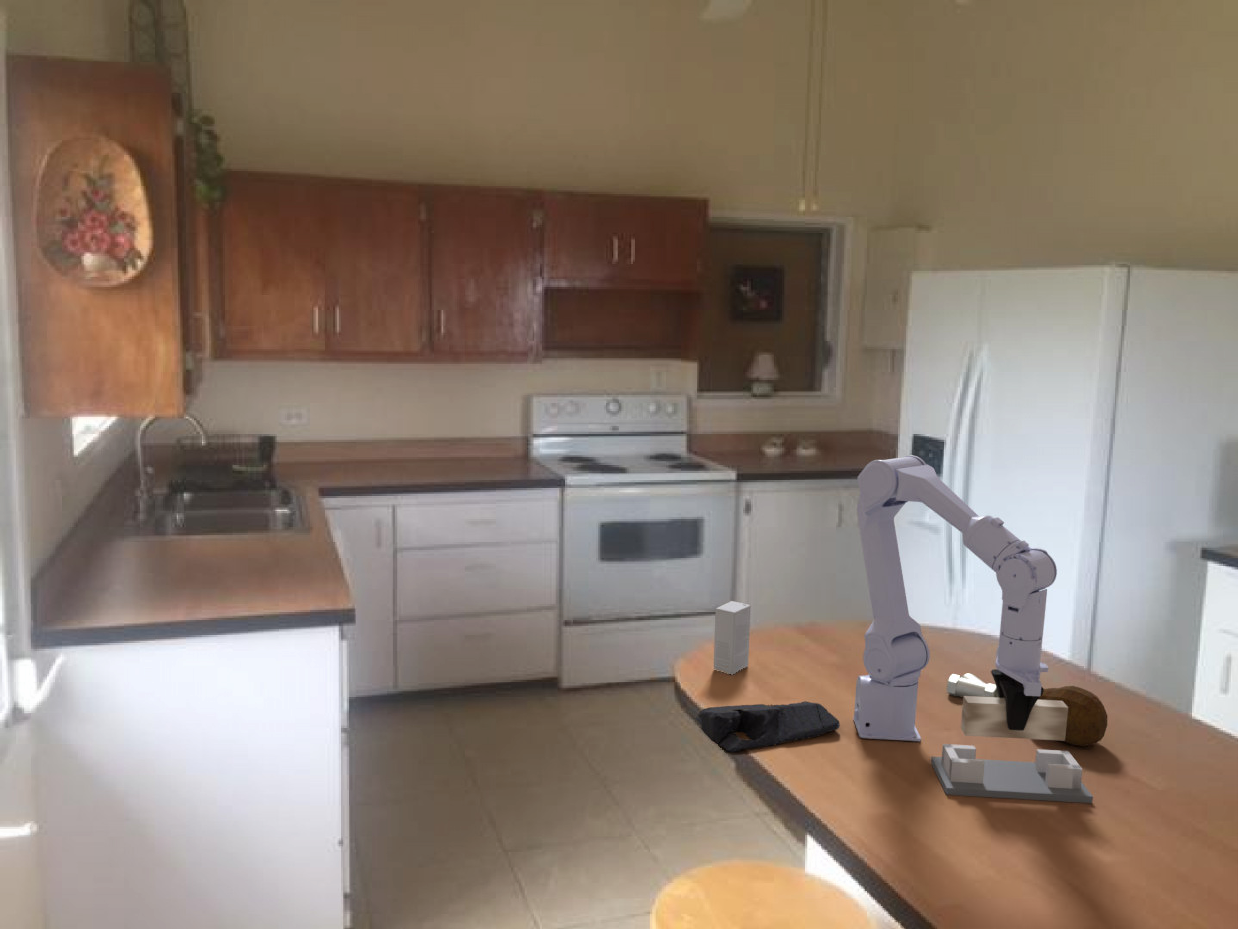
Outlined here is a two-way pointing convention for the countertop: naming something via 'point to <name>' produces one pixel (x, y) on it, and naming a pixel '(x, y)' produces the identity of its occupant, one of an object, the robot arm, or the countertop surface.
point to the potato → (1080, 714)
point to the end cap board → (1011, 776)
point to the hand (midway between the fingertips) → (1012, 724)
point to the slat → (991, 719)
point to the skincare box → (731, 637)
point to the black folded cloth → (765, 724)
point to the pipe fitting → (970, 686)
